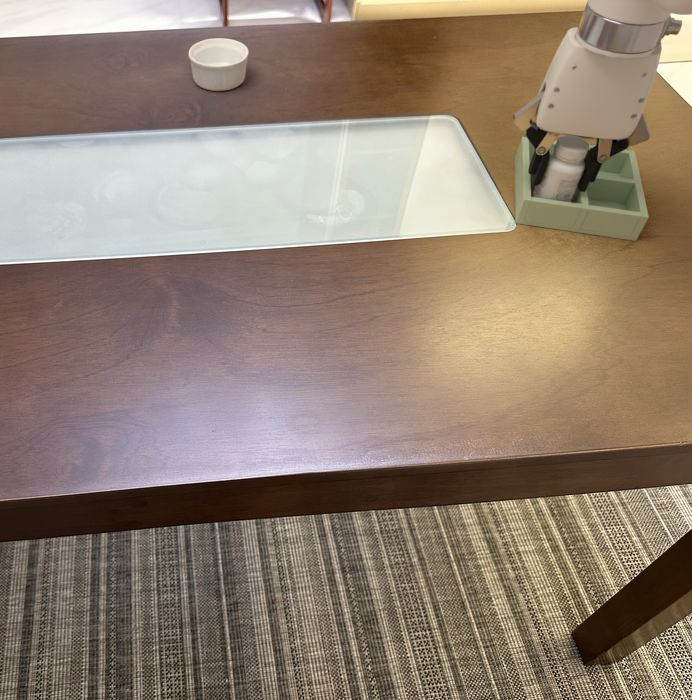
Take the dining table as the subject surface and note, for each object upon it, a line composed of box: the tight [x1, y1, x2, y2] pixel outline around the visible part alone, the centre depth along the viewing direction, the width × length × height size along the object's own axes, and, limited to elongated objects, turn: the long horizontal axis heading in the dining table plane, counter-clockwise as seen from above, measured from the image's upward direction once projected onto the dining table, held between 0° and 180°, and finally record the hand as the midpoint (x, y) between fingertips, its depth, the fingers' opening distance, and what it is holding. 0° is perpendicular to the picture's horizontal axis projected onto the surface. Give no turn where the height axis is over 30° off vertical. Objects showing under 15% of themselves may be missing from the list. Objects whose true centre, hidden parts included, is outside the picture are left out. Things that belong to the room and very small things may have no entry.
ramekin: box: [188, 37, 250, 92], centre depth 108 cm, size 9×9×4 cm
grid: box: [514, 136, 650, 242], centre depth 88 cm, size 14×14×4 cm
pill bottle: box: [533, 134, 590, 202], centre depth 84 cm, size 4×4×8 cm
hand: (558, 180), depth 85 cm, fingers closed on pill bottle, 4 cm apart
